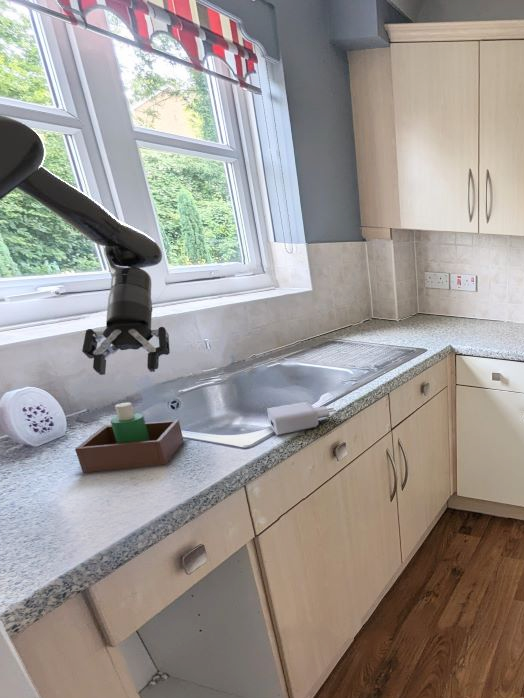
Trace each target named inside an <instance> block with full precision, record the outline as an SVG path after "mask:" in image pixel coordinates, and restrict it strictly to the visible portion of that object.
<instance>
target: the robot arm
mask: <svg viewBox="0 0 524 698" xmlns="http://www.w3.org/2000/svg"><path fill="white" fill-rule="evenodd" d="M45 157H46V148H45V143H44V141H43V139H42V138H41V136H40V135H39V133H37V131H35V130H34V129H33V128H32V127H31V126H29V125H27V124H25V123H23V122H21V121H19V120H17V119H13V118H12V117H9V116H5V115H2V114H0V202H1V201H2V200H3V199H4V198H6V197H7V196H8V195H9V194H10V193H12V192H13V191H14V190H16V189H19V190H20V191H22V192H24V193H25V194H27V195H28V196H29V197H31V198H32V199H34V200H35V201H37V202H38V203H39V204H41V205H42V206H43V207H45V208H47V209H48V210H50V211H51V212H52V213H54V214H55V215H56V216H57V217H59V218H61V219H62V220H63V221H65V222H66V223H67V224H69V226H71V227H72V228H74V229H75V230H77V231H78V232H79V233H81V234H82V235H83V236H85V237H86V238H87V239H88V240H90V241H91V242H93V243H94V244H95V245H96V244H97V245H99V246H102V247H104V248H103V255H104V258H105V261H106V263H107V266H108V270H109V272H110V276H111V278H110V279H111V281H110V291H109V294H108V298H107V309H106V310H107V311H106V324H105V325H106V326H105V329H103V331H95V330H94V329H91V328H88V329H86V330H85V334H84V338H83V343H82V344H83V345H82V349H81V351H82V353H83V354H84V355H85V356H86V357H87V358H88V359H91V360H92V359H93V361H92V363H93V364H92V368H93V370H94V371H95V372H96V373H97V374H98V375H100V376H105V375H106V370H107V369H106V368H107V360H106V359H107V358H108V357H110V356H111V355H114V354H115V353H117V352H118V351H119V350H120V351H128V350H139V349H141V348H142V349H144V351H146V352H147V362H146V363H147V364H146V365H147V366H146V367H147V370H148V371H149V372H150V373H153V372H156V370H158V368H159V357H161V356H163V355H164V356H168V355H170V353H171V350H170V337H169V332H168V331H167V329H166V327H164V326H160V327H158V328H157V329H152V318H153V317H152V315H153V300H152V278H151V275H150V274H149V273H148V272H147V271H146V270H144V269H143V268H149V267H153V266H156V265H159V264H160V263H161V261H162V260H163V252H162V249H161V247H160V246H159V244H158V243H157V242H156V241H155V240H154V239H153V238H152V237H150V236H148V234H146V233H144V232H143V231H141V230H138V229H136V228H134V227H133V226H130V225H128V224H127V223H125V222H122V221H120V220H118V219H117V218H116V217H115V216H114V215H113V214H112V213H111V212H109V210H107V209H106V208H105V207H104V206H102V205H101V204H100V203H98V202H97V201H96V200H95V199H93V198H92V197H90V196H89V195H87V194H85V193H84V192H82V191H81V190H80V189H78V188H76V187H75V186H73V185H71V184H70V183H68V182H67V181H65V180H63V179H61V178H60V177H59V176H57V175H56V174H54V173H53V172H51V171H50V170H48V169H47V168H46V167H44V166H43V164H44V161H45V159H46V158H45ZM153 337H156V339H157V340H158V347H154V346H153V345H152V344H151V343H150V342H149V341H150V340H151V339H153ZM102 339H104V340H103V341H102V342H101V340H102ZM100 342H101V343H100ZM98 343H100V345H99V346H98Z"/></svg>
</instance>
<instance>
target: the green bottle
mask: <svg viewBox="0 0 524 698" xmlns="http://www.w3.org/2000/svg"><path fill="white" fill-rule="evenodd" d="M114 408H115V412H116V415H117V416H115V417H112V418H111V419H110V421H109V422H110V426H111V425H112V428H113V432H114V435H115V438H116V442H117V444H121V443H132V442H143V441H150V439H149V436H148V432H147V428H146V425H145V423H146V421H145V417H144V414H142V413H135V412H134V407H133V404H132V403H131V402H121V403H120V402H119V403H117V404H115V405H114Z"/></svg>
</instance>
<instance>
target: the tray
mask: <svg viewBox="0 0 524 698" xmlns="http://www.w3.org/2000/svg"><path fill="white" fill-rule="evenodd" d="M145 425H146V428H147V432H148V436H149V439H150V441H143V442H132V443H121V444H117V442H116V438H115V435H114V432H113V428H112V425H111V424H110V425H104V426H102V427H100V428H99V429H98V430H97V431H96V432H95V433H93V434H92V435H91V436H89V437H88V438H87V439H85V441H84V440H83V442H82V443H80V444H79V445H78V446H77V447H76V448H74V450H75V453H76V457H77V459H78V462H79V466H80V469H81V471H82V473H83V474H85V473H94V472H103V471H113V470H114V471H115V470H125V469H132V468H134V469H135V468H141V467H142V468H143V467H151V466H152V467H153V466H160V465H162V466H163V465H166V464H167V463H168V462H169V460H171V458H172V457H173V455H174V454H175V453H176V452H177V451H178V449H179V448H180V446H181V445H182V444H183V443H184V441H185V440H184V436H183V431H182V428H181V424H180V420H178V419H177V420H176V419H175V420H165V421H164V420H163V421H152V422H145Z"/></svg>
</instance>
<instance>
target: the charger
mask: <svg viewBox="0 0 524 698" xmlns="http://www.w3.org/2000/svg"><path fill="white" fill-rule="evenodd" d="M266 411H267V417H268V423H269V426H270V427H271V429H272V430H273V431H274V432H273V433H275V435H276V436H281V435H284V434H289V433H295V432H299V431H304V430H309V429H313V428H316V427H317V426H318V425H319V420H320V419H323V418H328V417H330V416H331V413H334V412H336V409H334V407H329V408H327V406H325V405H323V406H317V407H314V406H312V404H311V403H309V402H306V401H303V402H296V403H292V404H285V405H280V406H273V407H267V408H266Z"/></svg>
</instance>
